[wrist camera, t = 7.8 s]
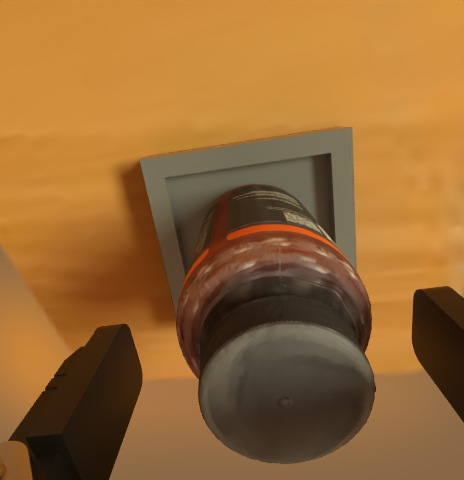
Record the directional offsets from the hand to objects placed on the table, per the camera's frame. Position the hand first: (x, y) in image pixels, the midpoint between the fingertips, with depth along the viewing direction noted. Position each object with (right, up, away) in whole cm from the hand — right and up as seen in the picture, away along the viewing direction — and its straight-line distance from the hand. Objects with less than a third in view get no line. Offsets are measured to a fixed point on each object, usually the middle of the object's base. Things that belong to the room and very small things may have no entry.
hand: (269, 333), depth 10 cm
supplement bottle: (0, +3, +9) cm, 9 cm away
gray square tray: (0, +3, +10) cm, 10 cm away
